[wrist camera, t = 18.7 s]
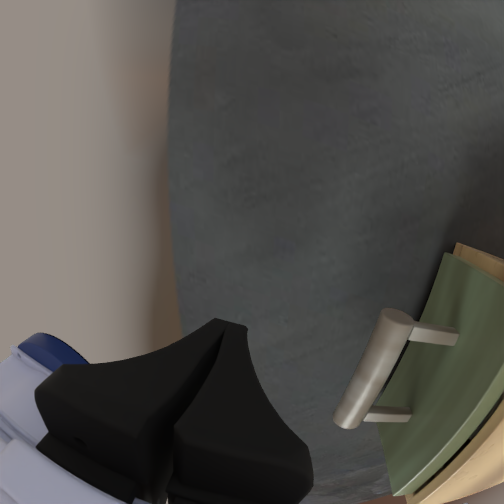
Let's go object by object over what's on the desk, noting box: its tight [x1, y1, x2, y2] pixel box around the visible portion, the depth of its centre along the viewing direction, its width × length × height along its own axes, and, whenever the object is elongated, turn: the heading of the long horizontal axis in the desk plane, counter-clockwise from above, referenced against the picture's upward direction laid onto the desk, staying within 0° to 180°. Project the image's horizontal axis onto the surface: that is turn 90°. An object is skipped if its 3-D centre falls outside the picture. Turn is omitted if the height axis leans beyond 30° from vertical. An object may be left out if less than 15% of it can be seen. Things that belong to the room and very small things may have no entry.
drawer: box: [333, 252, 504, 496], centre depth 9 cm, size 16×10×7 cm, turn 79°
